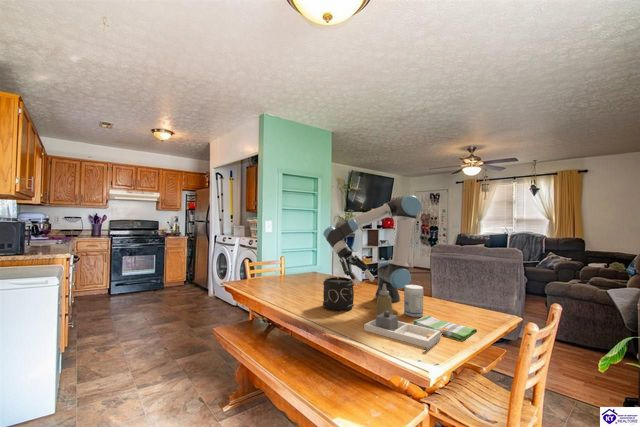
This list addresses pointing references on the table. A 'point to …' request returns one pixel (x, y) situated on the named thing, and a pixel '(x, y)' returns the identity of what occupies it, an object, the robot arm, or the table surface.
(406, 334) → the tray
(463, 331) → the dish towel
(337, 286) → the black marked cylinder
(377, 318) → the block
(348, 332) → the table surface
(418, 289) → the supplement tub
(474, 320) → the table surface
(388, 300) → the squeeze bottle
